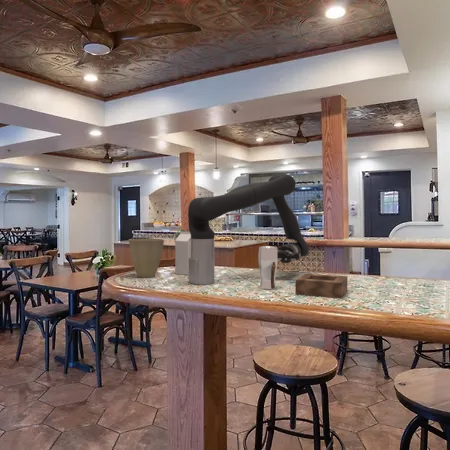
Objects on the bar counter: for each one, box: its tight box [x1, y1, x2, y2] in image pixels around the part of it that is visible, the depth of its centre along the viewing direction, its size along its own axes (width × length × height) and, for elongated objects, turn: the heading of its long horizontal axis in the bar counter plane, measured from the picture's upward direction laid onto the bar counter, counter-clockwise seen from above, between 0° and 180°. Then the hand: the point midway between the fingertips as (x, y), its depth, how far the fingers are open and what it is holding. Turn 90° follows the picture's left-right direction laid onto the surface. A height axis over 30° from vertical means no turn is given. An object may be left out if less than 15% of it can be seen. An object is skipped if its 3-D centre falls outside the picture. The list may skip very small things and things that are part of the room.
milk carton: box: [174, 231, 191, 276], centre depth 176 cm, size 7×7×19 cm
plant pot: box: [128, 238, 165, 279], centre depth 168 cm, size 15×15×16 cm
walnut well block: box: [294, 273, 348, 299], centre depth 135 cm, size 15×15×5 cm
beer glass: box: [258, 245, 279, 291], centre depth 143 cm, size 7×7×15 cm
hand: (277, 257), depth 153 cm, fingers open, 8 cm apart
